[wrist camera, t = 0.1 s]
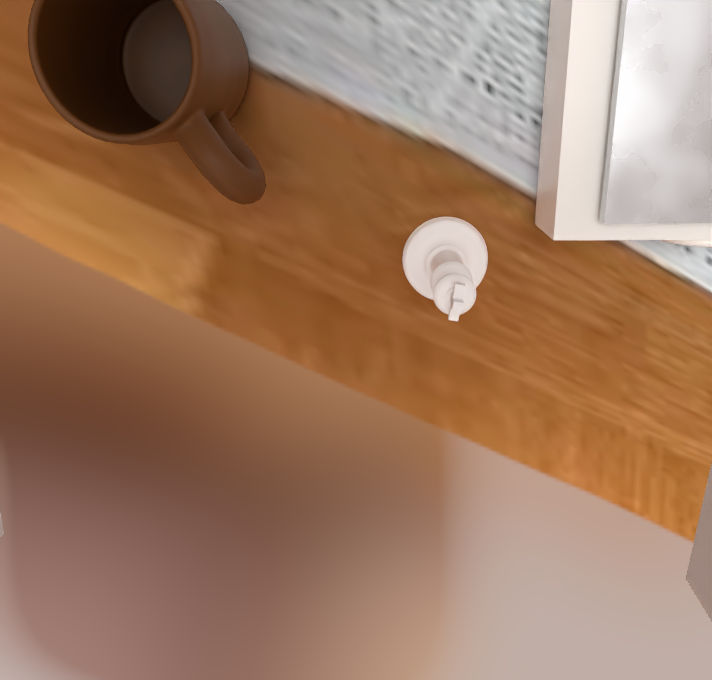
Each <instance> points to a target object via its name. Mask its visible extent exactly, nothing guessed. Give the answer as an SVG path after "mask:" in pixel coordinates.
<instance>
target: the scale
mask: <svg viewBox="0 0 712 680" xmlns="http://www.w3.org/2000/svg"><path fill="white" fill-rule="evenodd" d="M621 5H622V0H551V1H550V15H549V29H548V43H547V57H546V72H545V86H544V100H543V114H542V128H541V142H540V156H539V171H538V185H537V199H536V213H535V225H536V226H537V227H539V228H540V229H541V230H542V231H543V232H544V233H546V234H547V235H548V236H549V237H550V238H551V239H552V240H661V241H664V242H668V243H673V244H680V245H688V246H700V247H712V223H683V224H603V223H602V222H600V221H599V220H600V210H601V201H602V191H603V181H604V171H605V161H606V152H607V142H608V132H609V122H610V113H611V103H612V93H613V83H614V73H615V64H616V54H617V44H618V34H619V25H620V15H621Z"/></svg>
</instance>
